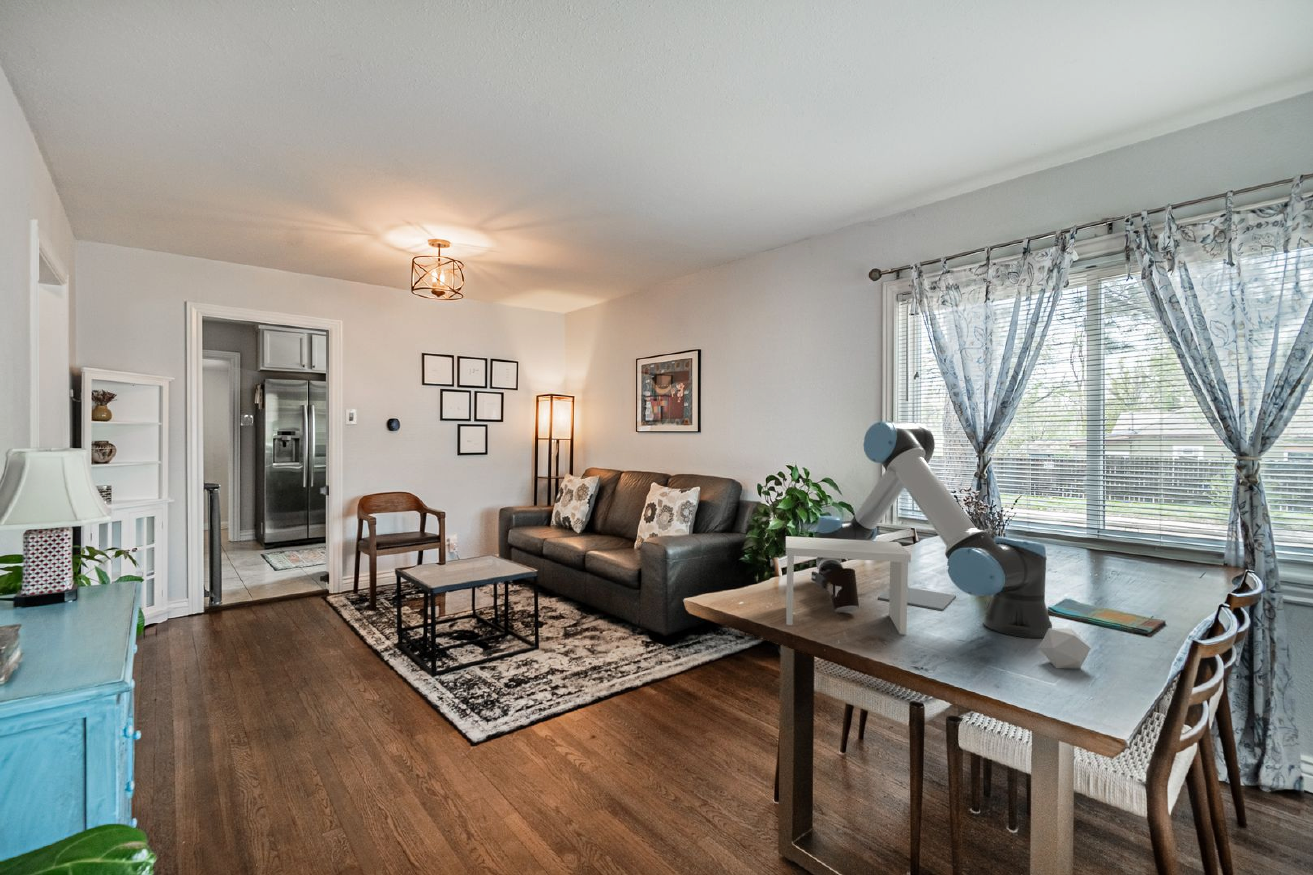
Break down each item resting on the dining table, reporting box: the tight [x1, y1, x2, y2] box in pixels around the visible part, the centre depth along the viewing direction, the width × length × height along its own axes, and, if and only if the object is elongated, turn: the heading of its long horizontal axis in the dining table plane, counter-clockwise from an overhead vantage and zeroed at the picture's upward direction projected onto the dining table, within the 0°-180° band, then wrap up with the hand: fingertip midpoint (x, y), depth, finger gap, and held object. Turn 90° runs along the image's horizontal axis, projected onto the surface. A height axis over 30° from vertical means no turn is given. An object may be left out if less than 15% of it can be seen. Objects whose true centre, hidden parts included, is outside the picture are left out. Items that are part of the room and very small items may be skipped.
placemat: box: [877, 587, 957, 612], centre depth 183 cm, size 18×18×1 cm
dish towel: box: [1046, 597, 1167, 637], centre depth 166 cm, size 17×23×2 cm
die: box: [1038, 627, 1092, 670], centre depth 131 cm, size 8×9×10 cm
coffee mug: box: [824, 567, 860, 613], centre depth 169 cm, size 12×9×10 cm
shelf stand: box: [785, 535, 912, 636], centre depth 161 cm, size 17×30×20 cm, turn 78°
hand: (838, 591), depth 165 cm, fingers closed
